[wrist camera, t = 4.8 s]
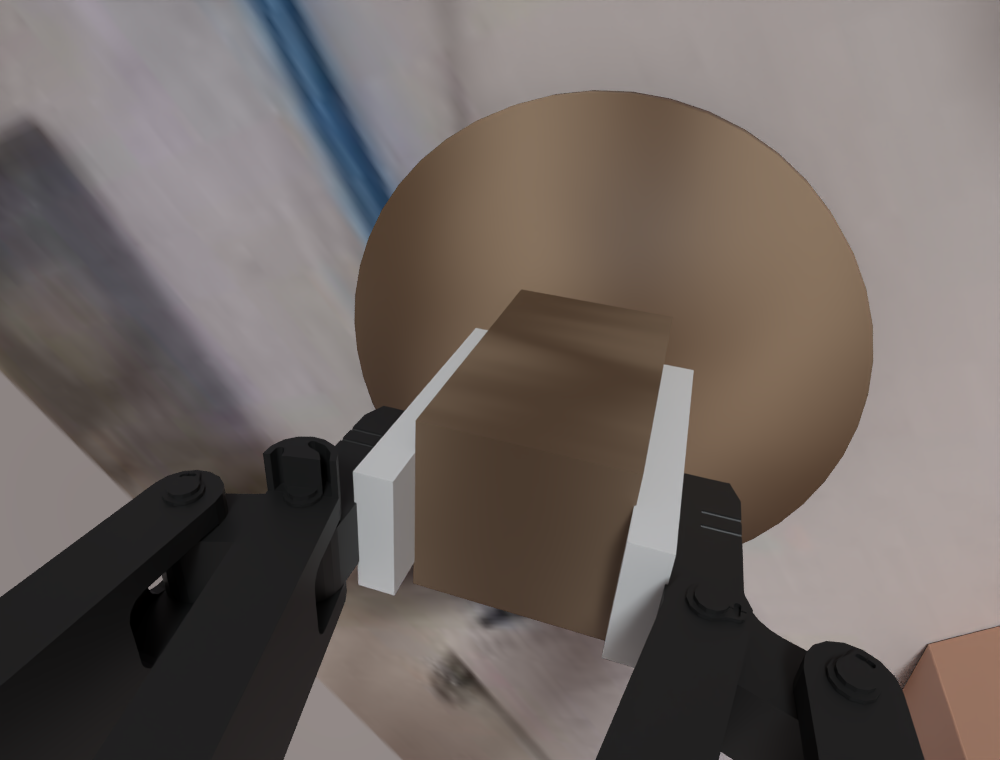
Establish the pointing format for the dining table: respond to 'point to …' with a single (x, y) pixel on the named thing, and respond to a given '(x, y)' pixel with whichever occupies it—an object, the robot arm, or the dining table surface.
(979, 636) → the bowl
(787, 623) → the dining table surface
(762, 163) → the lid
